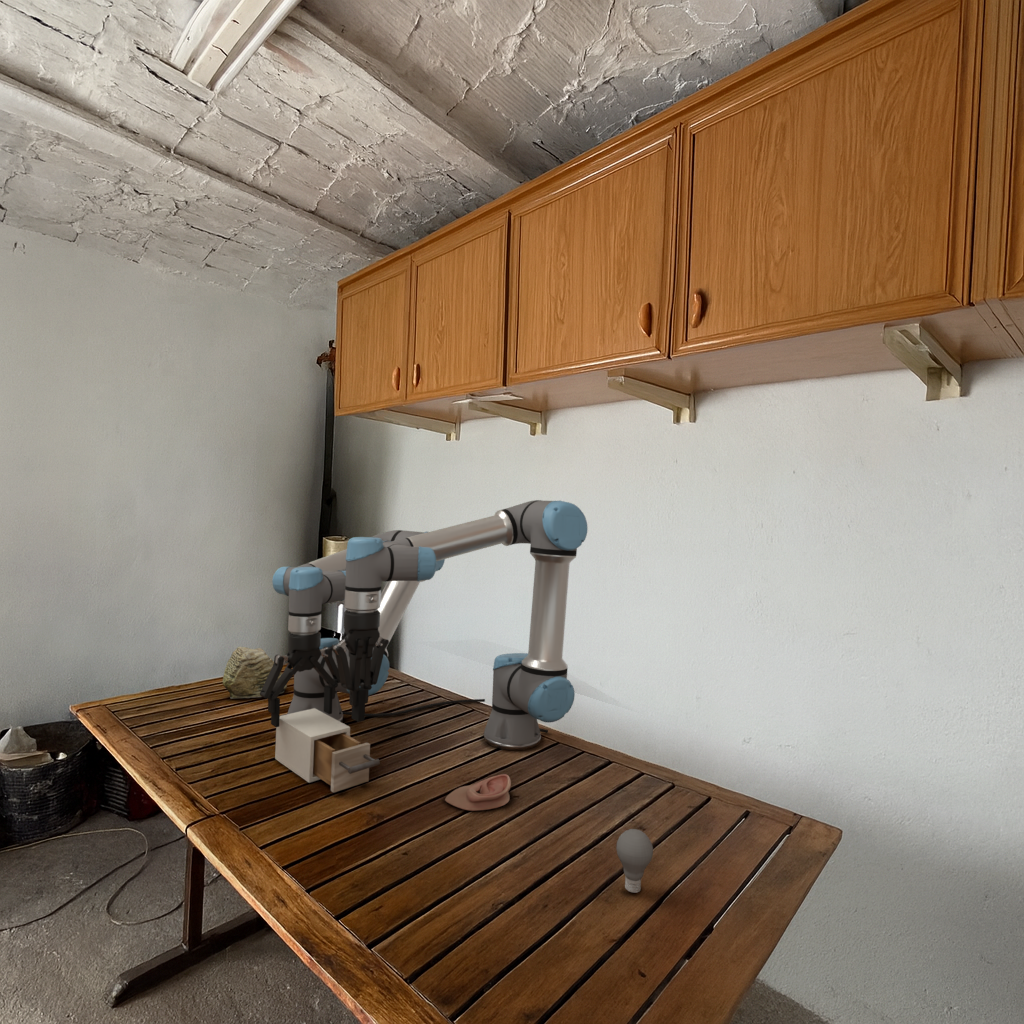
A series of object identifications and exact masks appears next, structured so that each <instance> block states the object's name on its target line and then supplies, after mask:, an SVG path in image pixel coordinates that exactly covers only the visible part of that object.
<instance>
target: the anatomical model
mask: <svg viewBox="0 0 1024 1024" xmlns="http://www.w3.org/2000/svg"><path fill="white" fill-rule="evenodd" d="M511 787H512V780H511V778H510V776H509V775H508V774H506V773H501V774H498V775H494V776H489V777H487V778H485V779H483V780H480V781H477V782H475V783H473V784H471V785H464V786H463V785H462V786H460V787H458V788H456V789H454V790H453V791H451V792H450V793H449V794H447V796H446V797H445V799H444V801H445V802H446V803H448V804H449V805H450V806H453V807H455V808H458V809H461V810H464V811H468V812H469V811H474V812H475V811H486V810H493V809H498V808H500V807H502V806H505V805H506V804H508V803H509V801H510V800H511V799H510V798H511V797H510V793H509V791H510V790H511Z"/></svg>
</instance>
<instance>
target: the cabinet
mask: <svg viewBox="0 0 1024 1024" xmlns="http://www.w3.org/2000/svg"><path fill="white" fill-rule="evenodd" d="M340 733H344V734H346V735H348V736H350V737H351V726H349V725H347V724H345V723H343V722H340V721H338V720H336V719H334V718H332V717H330V716H328V715H326V714H325V713H323V712H321V711H319V710H317V709H315V708H314V709H309V710H305V711H300V712H295V713H291V714H287V713H286V714H282V715H280V718H279V727H275V750H274V753H275V754H274V756H275V757H274V759H275V760H276V761H277V762H279V763H280V764H281V765H283V766H285V768H288V769H289V770H290V771H292V772H293V773H294V774H295V775H297V776H298V777H300V778H301V779H302V780H304V781H306V782H307V783H309V784H310V783H313V782H316V781H319V780H321V779H320V778H319V777H317V776H316V775H314V774H313V760H314V740H317V739H321V738H325V737H329V736H332V735H336V734H340Z"/></svg>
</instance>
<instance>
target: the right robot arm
mask: <svg viewBox="0 0 1024 1024" xmlns="http://www.w3.org/2000/svg"><path fill="white" fill-rule="evenodd" d="M426 532H427V533H423V534H419V535H415V536H411V537H407V538H404V539H399V540H395V541H383V540H382V539H381V538H374V537H372V536H355V537H354V536H353V537H351V538H349V539H348V541H347V543H346V545H347V546H346V549H347V553H346V586H345V600H343V601H344V602H343V607H344V608H345V609H346V610H345V611H344V612H343V634H342V637H341V640H340V641H339V643H338V644H337V645H335V644H334V645H332V650H333V652H334V653H335V655H336V660H337V666H338V671H339V676H340V682H341V686H342V687H343V688H346V689H348V690H349V691H350V694H348V695H349V696H348V697H349V698H348V702H349V705H350V706H351V712H352V715H351V719H352V720H354V721H356V722H358V723H359V722H363V721H365V718H366V716H365V713H366V704H368V702H369V696H368V691H369V690H370V689H371V688H372V686H371V685H373V684H374V685H375V684H376V683H377V681H378V676H379V672H380V668H381V664H382V660H383V655H384V651H385V649H387V648H388V646H387V645H389V644H390V642H389V640H387V639H384V638H382V637H381V636H380V633H379V630H378V628H379V626H380V612H379V610H377V609H379V608H380V600H381V593H382V583H383V582H388V581H421V580H426V581H430V580H432V579H433V578H434V576H435V574H436V572H437V571H436V561H439V560H443V559H445V560H446V559H449V558H453V557H458V556H461V555H464V554H468V553H473V552H476V551H479V550H483V549H486V548H491V547H495V546H497V545H498V546H499V545H501V544H502V545H503V546H505V547H510V546H512V545H517V544H528V545H530V547H529V554H530V555H531V556H532V558H533V559H534V561H535V564H534V574H533V587H532V598H531V599H532V601H531V613H530V614H531V615H530V626H529V637H528V651H527V653H525V652H519V653H518V652H513V653H512V652H511V653H510V652H509V653H503V654H498V655H497V656H496V657H495V658H494V661H493V666H492V667H493V668H492V671H493V672H492V673H493V674H492V698H491V712H490V714H489V716H488V719H487V722H486V725H485V727H484V732H483V740H484V742H485V743H486V744H487V745H489V746H490V747H494V748H496V749H500V750H506V751H524V750H525V751H526V750H530V749H534V748H535V747H537V746H539V745H540V743H541V739H542V735H541V733H545V734H548V733H549V730H548V729H545V728H540V725H539V722H538V721H541V722H543V723H554V722H557V721H560V720H561V719H562V718H564V717H565V715H566V714H568V713H569V711H571V709H572V707H573V704H574V701H575V696H576V695H575V693H576V692H575V688H574V685H573V684H572V682H571V681H570V680H569V679H568V668H569V667H568V663H567V662H566V661H565V660H564V658H563V654H564V641H565V629H566V617H567V616H566V615H567V604H568V588H569V574H570V564H571V562H572V561H573V560H574V559H576V558H577V552H578V548H579V547H581V546H582V545H583V543H584V542H585V540H586V538H587V536H588V522H587V518H586V516H585V514H584V512H583V511H582V510H581V508H580V507H578V505H576V504H574V503H572V502H568V501H564V500H543V499H542V500H541V499H538V500H537V499H536V500H535V499H534V500H529V501H526V502H523V503H520V504H516V505H513V506H510V507H506V508H503V509H499V510H496V512H495V513H494V514H493V515H491V516H487V517H483V518H479V519H476V520H470V521H467V522H463V523H459V524H455V525H451V526H447V527H442V528H439V529H436V530H435V529H434V530H431V531H426ZM388 643H389V644H388ZM374 645H375V647H374ZM346 647H347V649H348V650H349V657H350V663H349V666H348V660H347V655H346V653H345V652H346ZM373 647H374V650H373ZM386 647H387V648H386ZM371 657H372V658H371Z"/></svg>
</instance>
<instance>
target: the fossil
mask: <svg viewBox="0 0 1024 1024" xmlns="http://www.w3.org/2000/svg"><path fill="white" fill-rule="evenodd" d="M273 664H274V659H272V658H271V657H270V656H269V655H268V654H267V653H266V652H265V650H264V649H263V648H260V647H258V648H251V647H247V646H246V647H245V646H238V647H237V648H236V649H235V650H233V651H232V653H231V656H230V657H229V659H228V660H227V663H226V666H225V668H224V671H223V675H222V676H223V677H222V685H223V687H224V688H225V690H226V691H228V693H229V698H230V699H250V698H263V697H262V696H260V692H261V690H262V688H263V686H264V683H265V681H266V679H267V677H268V675H269V673H270V671H271V669H272V667H273ZM282 673H283V672H282V671H281V672H280V675H279V677H278V679H279V678H280V676H281V675H282ZM278 679H277V680H278ZM276 682H277V681H276ZM287 687H288V686H287V684H286V686H285V687H284V688H283V690H282V691H281V693H280V694H284V693H285V691H286V689H287Z"/></svg>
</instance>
